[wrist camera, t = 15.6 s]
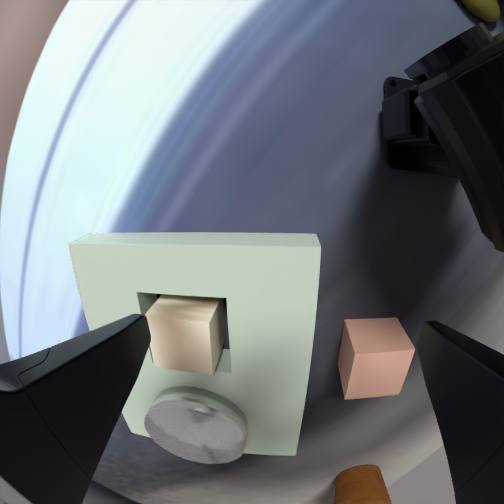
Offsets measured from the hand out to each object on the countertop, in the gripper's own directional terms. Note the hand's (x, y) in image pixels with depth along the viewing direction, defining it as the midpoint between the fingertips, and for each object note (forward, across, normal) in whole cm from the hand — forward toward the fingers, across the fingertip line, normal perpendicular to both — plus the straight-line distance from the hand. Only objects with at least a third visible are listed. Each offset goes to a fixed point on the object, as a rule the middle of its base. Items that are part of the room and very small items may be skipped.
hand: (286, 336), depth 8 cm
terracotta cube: (+12, -7, +9) cm, 17 cm away
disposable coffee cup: (+12, -12, +34) cm, 38 cm away
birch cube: (+12, +7, +7) cm, 16 cm away
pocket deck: (+12, +7, +11) cm, 18 cm away
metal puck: (+9, +7, +16) cm, 20 cm away
